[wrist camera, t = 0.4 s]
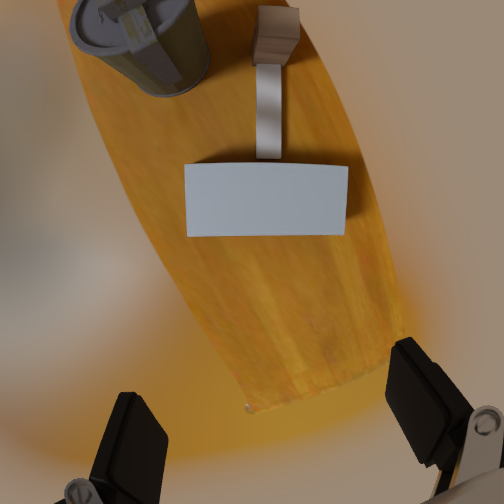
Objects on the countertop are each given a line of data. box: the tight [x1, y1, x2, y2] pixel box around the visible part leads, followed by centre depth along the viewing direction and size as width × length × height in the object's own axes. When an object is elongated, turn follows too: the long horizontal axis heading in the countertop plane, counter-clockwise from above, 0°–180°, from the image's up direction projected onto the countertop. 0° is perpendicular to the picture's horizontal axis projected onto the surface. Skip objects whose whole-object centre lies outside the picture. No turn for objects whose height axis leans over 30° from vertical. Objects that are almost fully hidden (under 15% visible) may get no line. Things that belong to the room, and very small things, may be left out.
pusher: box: [252, 5, 300, 159], centre depth 27 cm, size 16×4×10 cm, turn 0°
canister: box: [69, 0, 210, 97], centre depth 20 cm, size 11×10×20 cm
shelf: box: [185, 163, 348, 237], centre depth 33 cm, size 8×18×6 cm, turn 90°
